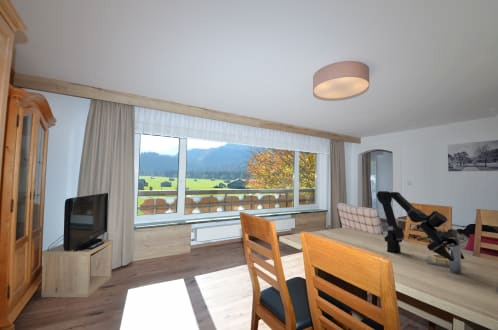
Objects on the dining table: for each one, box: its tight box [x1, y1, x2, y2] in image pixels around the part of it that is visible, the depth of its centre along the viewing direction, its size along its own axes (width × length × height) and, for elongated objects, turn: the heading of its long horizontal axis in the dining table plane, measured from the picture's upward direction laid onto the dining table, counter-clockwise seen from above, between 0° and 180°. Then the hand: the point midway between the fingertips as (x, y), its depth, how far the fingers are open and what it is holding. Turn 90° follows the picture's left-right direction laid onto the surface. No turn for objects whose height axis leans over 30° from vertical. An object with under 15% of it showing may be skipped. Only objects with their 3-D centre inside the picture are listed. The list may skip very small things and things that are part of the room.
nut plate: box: [426, 253, 449, 269], centre depth 120 cm, size 12×12×4 cm
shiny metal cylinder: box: [447, 245, 463, 275], centre depth 108 cm, size 4×4×13 cm
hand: (458, 259), depth 107 cm, fingers open, 9 cm apart
